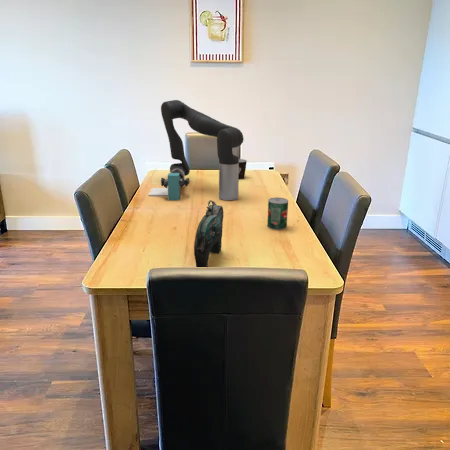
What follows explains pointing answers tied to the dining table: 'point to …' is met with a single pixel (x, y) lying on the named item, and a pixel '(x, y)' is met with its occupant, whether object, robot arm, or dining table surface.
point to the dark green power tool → (209, 234)
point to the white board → (158, 192)
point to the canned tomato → (277, 213)
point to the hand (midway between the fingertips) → (173, 185)
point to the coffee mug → (242, 168)
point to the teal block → (173, 186)
